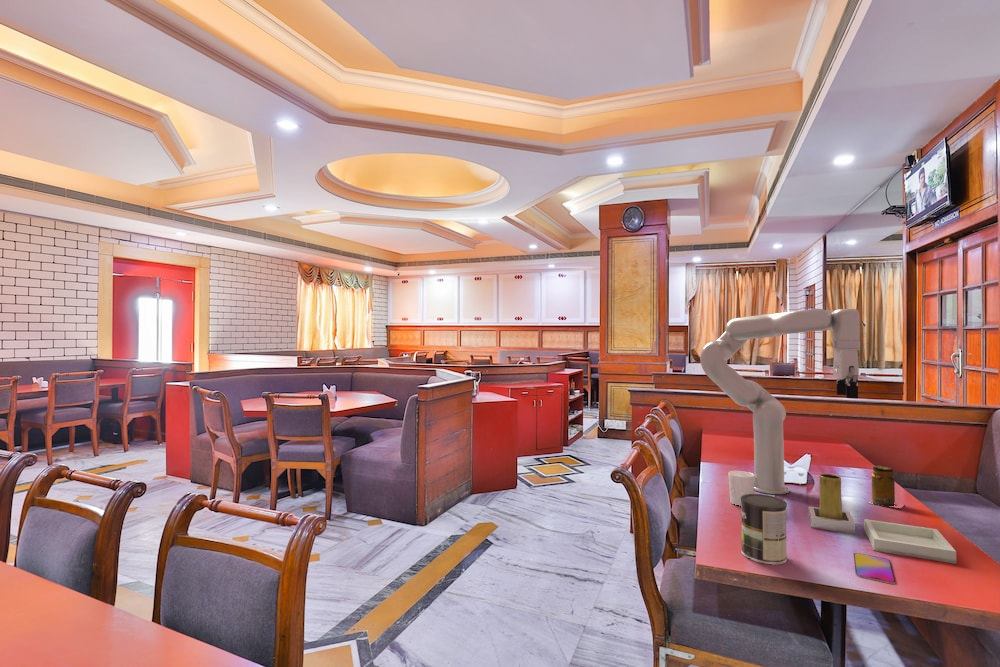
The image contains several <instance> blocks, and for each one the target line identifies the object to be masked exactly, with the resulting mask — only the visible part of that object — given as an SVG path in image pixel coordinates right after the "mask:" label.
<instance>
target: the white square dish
mask: <svg viewBox="0 0 1000 667" xmlns="http://www.w3.org/2000/svg"><path fill="white" fill-rule="evenodd" d="M842 515H843V520H838V519H831V518H824V517H819V507H816V506H808V519H809V523H810V526H811V528H813V529H819V530H827V531H833V532H840V533H844V534H846V533H847V534H853V535H855V534H856V523H855V521H854V518H853V516H852V513H851V512H850V511H847V510H846V511H845V510H842Z"/></svg>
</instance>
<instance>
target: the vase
mask: <svg viewBox="0 0 1000 667" xmlns="http://www.w3.org/2000/svg"><path fill="white" fill-rule="evenodd" d="M842 502H843V501H842V478H841V476H839V475H837V474H832V473H821V474H819V507H818V508H819V517H824V518H831V519H838V520H843V515H842V511H843V503H842Z"/></svg>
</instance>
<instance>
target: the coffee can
mask: <svg viewBox="0 0 1000 667" xmlns="http://www.w3.org/2000/svg"><path fill="white" fill-rule="evenodd" d="M787 507H788V503H787V501H785V500H783V499H782V498H780V497H777V496H773V495H770V494H769V495H767V494H764V493H763V494H762V493H754V494H746V495H743V496H741V507H740V508H741V551H740V552H741V554H742V555H743V557H745V556H746V557H747V558H746V557H745V558H746V559H748V558H750V559H751V560H750V559H749V560H750V561H752V560H754V561H753V562H755V561H757V562H756V563H758V562H760V563H759V564H762V563H764V565H769V564H772V565H773V566H774V565H775V566H777V565H778V564H779V565H783V563H784V564H786V562H787V561H788V558H787V556H788V555H787ZM772 565H771V566H772ZM779 565H778V566H779Z"/></svg>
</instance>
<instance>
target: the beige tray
mask: <svg viewBox="0 0 1000 667" xmlns="http://www.w3.org/2000/svg"><path fill="white" fill-rule="evenodd" d="M863 526H864V527H863V530H864V532H865V534H866V536H867V539H868V540H869V543H870V544H871V546H872V548H873V550H874V551H876V552H882V553H888V554H893V555H900V556H906V557H913V558H917V559H924V560H930V561H931V560H932V561H937V562H943V563H949V564H954V565H956V564H957V551H956V550H955V548H953V546H952V545H951V544H950V543H949V541H948V540H947V539H946V538H945V537H944V535H943V534H942V533H941V532H940V531H939V530H938V529H937V528H931V527H924V526H916V525H909V524H904V523H902V524H901V523H895V522H890V521H889V522H888V521H882V520H873V519H867V518H866V519H865V518H864V519H863Z"/></svg>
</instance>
